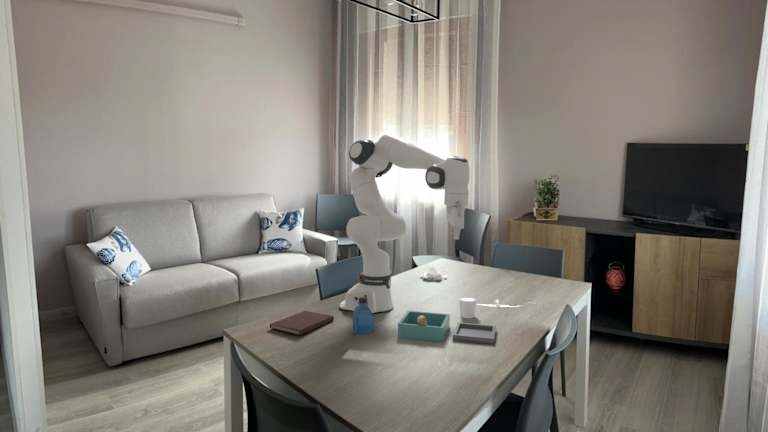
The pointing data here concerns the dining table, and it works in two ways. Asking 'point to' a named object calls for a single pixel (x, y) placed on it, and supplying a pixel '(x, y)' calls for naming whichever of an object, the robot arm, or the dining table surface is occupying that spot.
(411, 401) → the dining table surface
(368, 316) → the perfume bottle
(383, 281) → the robot arm
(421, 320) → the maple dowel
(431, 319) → the shallow teal crate
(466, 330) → the charcoal tray
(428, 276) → the lotus flower
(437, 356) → the dining table surface
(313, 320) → the notebook
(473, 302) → the white cylinder
